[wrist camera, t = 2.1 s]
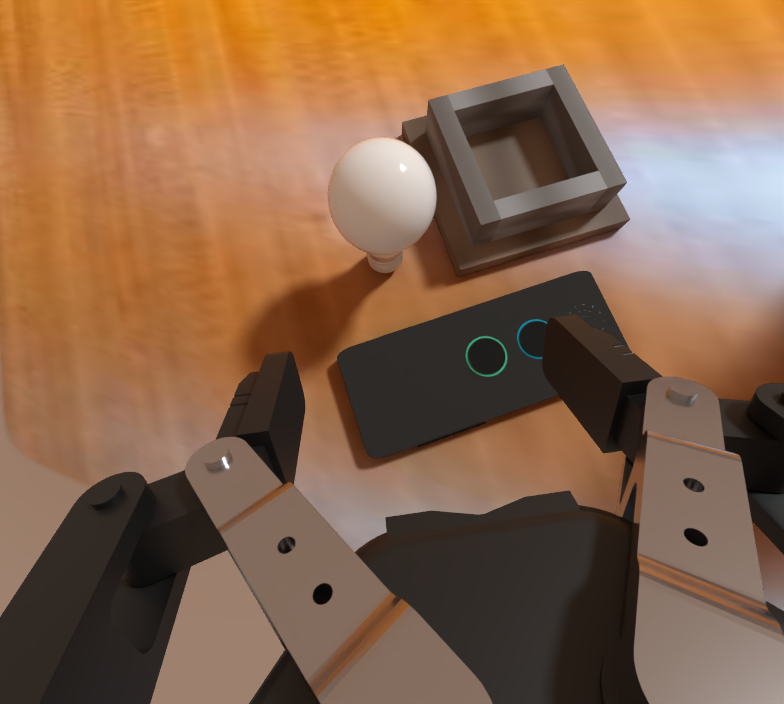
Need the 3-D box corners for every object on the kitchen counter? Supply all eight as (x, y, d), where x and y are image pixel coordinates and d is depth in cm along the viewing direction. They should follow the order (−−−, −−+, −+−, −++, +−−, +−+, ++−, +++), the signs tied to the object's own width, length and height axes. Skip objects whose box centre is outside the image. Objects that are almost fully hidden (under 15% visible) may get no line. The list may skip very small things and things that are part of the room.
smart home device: (641, 367, 27) (370, 464, 25) (626, 372, 28) (371, 463, 27) (589, 265, 29) (333, 349, 27) (578, 274, 30) (337, 355, 29)
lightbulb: (347, 302, 29) (321, 221, 18) (341, 229, 31) (314, 113, 20) (429, 295, 29) (451, 209, 19) (420, 221, 31) (435, 103, 20)
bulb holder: (551, 93, 34) (573, 45, 30) (621, 227, 31) (656, 194, 27) (401, 133, 33) (403, 89, 29) (457, 276, 30) (468, 250, 26)
